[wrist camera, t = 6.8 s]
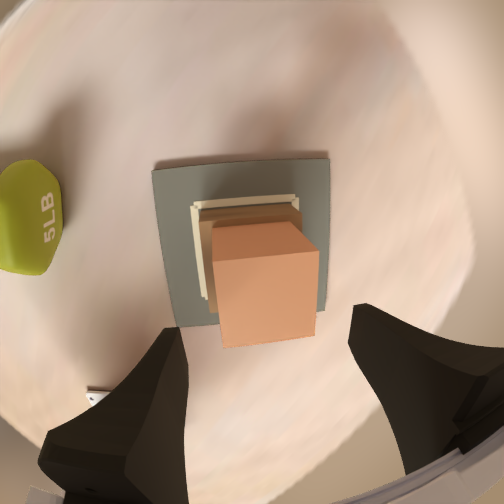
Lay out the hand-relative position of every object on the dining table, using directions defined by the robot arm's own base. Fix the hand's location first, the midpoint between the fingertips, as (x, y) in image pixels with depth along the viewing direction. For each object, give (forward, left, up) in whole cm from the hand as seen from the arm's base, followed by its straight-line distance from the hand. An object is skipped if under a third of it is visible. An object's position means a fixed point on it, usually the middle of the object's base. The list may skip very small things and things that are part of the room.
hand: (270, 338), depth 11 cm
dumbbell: (+6, +21, -11) cm, 24 cm away
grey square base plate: (0, 0, -10) cm, 10 cm away
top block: (+1, 0, -7) cm, 7 cm away
